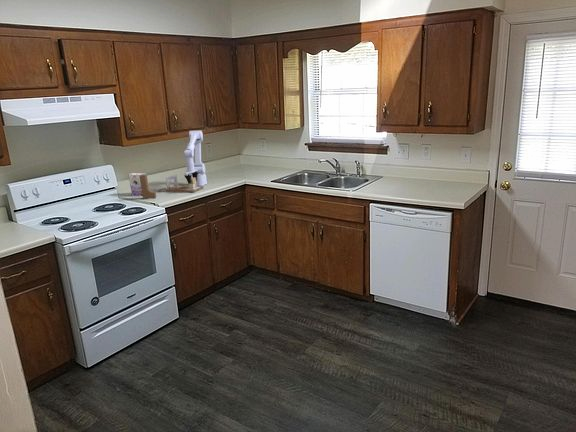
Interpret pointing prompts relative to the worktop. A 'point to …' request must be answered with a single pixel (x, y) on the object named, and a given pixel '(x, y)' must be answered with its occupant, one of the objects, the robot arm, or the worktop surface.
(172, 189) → the puzzle board
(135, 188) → the candy box
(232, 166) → the worktop surface
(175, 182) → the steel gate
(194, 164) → the robot arm
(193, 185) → the birch block
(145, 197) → the brown boot
